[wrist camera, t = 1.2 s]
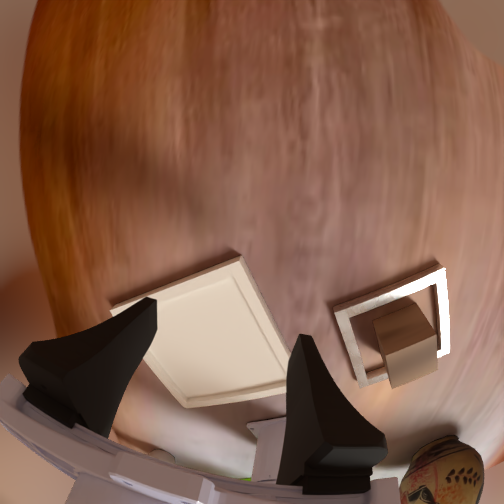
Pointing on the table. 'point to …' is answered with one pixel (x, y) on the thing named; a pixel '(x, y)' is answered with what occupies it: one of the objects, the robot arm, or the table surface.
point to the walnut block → (406, 345)
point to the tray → (215, 338)
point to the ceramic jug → (444, 474)
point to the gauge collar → (385, 296)
